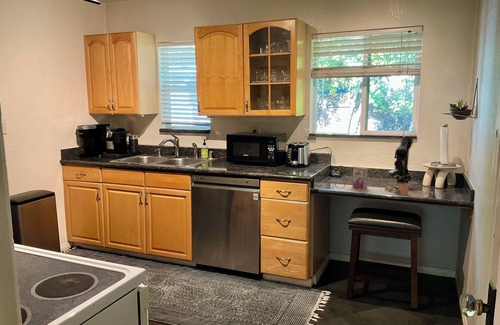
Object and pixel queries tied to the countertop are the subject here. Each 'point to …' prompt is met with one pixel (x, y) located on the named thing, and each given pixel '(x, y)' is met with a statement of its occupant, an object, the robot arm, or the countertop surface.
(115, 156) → the countertop surface
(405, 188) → the terracotta block
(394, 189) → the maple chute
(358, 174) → the candy bar box
